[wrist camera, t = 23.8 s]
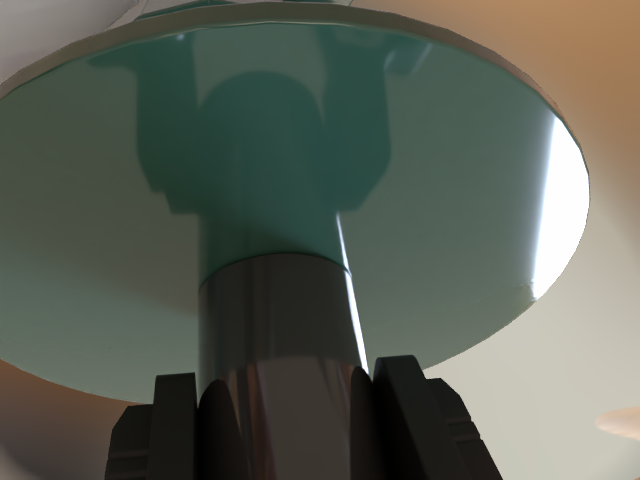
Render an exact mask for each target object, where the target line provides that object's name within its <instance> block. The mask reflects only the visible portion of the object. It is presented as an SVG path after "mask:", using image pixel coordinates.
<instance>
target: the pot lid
mask: <svg viewBox="0 0 640 480" xmlns="http://www.w3.org/2000/svg"><path fill="white" fill-rule="evenodd" d="M589 204H590V186H589V172H588V168H587V165H586V162H585V159H584V155H583V152H582V149H581V146H580V144H579V142H578V140H577V138H576V136H575V135H574V133H573V131H572V129H571V128H570V126H569V125H568V123H567V121H566V120H565V118H564V116H563V115H562V113H561V111H560V110H559V108H558V106H557V105H556V103H555V102H554V101H553V100H552V99H551V98H550V97H549V96H548V95H547V94H546V93H545V92H544V91H543V89H541V87H540V86H539V85H538V84H537V83H536V82H535V81H534V80H533V79H532V78H531V77H530V76H529V75H527V74H526V73H524V72H523V71H522V70H520V69H519V68H517V67H516V66H515V65H513V64H511V63H510V62H509V61H507V60H506V59H504V58H503V57H502V56H500V55H499V54H497V53H496V52H495V51H492V50H490V49H488V48H486V47H484V46H482V45H480V44H478V43H475V42H474V41H472V40H469V39H467V38H465V37H463V36H461V35H459V34H457V33H455V32H453V31H450V30H448V29H445V28H442V27H438V26H435V25H432V24H429V23H425V22H422V21H419V20H415V19H412V18H408V17H405V16H402V15H399V14H395V13H391V12H385V11H378V10H372V9H366V8H359V7H353V6H347V5H341V4H334V3H311V2H280V1H261V2H250V3H239V4H228V5H216V6H205V7H197V8H192V9H187V10H183V11H178V12H173V13H169V14H164V15H159V16H155V17H150V18H145V19H141V20H136V21H132V22H129V23H126V24H124V25H121V26H118V27H115V28H112V29H109V30H107V31H104V32H101V33H98V34H95V35H93V36H90V37H87V38H84V39H81V40H78V41H76V42H73V43H71V44H69V45H67V46H65V47H63V48H61V49H60V50H58V51H56V52H54V53H52V54H50V55H48V56H46V57H44V58H42V59H40V60H38V61H37V62H35V63H33V64H31V65H29V66H27V67H25V68H23V69H21V70H20V71H18V72H17V73H16V74H14V75H13V76H12V77H10V78H9V79H8V80H6V81H5V82H4V83H2V84H1V85H0V359H2V360H4V361H6V362H8V363H10V364H12V365H14V366H16V367H18V368H20V369H22V370H24V371H26V372H28V373H31V374H34V375H36V376H38V377H41V378H43V379H46V380H48V381H51V382H53V383H57V384H60V385H63V386H66V387H70V388H73V389H76V390H79V391H83V392H87V393H91V394H96V395H100V396H104V397H108V398H114V399H119V400H125V401H131V402H137V403H145V404H153V399H154V388H155V379H156V376H157V375H166V374H178V373H190V372H195V377H196V389H197V402H198V454H199V480H391V479H390V474H389V469H388V464H387V458H386V453H385V448H384V443H383V437H382V432H381V427H380V422H379V416H378V411H377V406H376V401H375V396H374V390H373V385H372V380H373V373H374V366H375V361H376V359H377V358H378V357H388V356H400V355H414V356H415V357H416V359H417V361H418V363H419V365H420V367H421V369H422V370H424V369H426V368H429V367H431V366H434V365H436V364H439V363H441V362H443V361H445V360H447V359H449V358H451V357H454V356H456V355H458V354H460V353H462V352H464V351H466V350H467V349H469V348H471V347H473V346H475V345H476V344H478V343H480V342H482V341H483V340H485V339H487V338H489V337H490V336H491V335H493V334H495V333H496V332H498V331H499V330H500V329H502V328H504V327H505V326H507V325H508V324H509V323H511V322H512V321H513V320H515V319H516V318H517V317H518V316H519V315H521V314H522V313H523V312H525V311H526V310H527V309H528V308H529V307H531V306H532V305H533V304H534V303H535V302H536V301H537V300H538V299H539V298H540V297H541V296H542V295H543V294H544V293H545V292H546V291H547V290H548V289H549V288H550V286H551V285H552V284H553V283H554V282H555V280H556V279H557V278H558V277H559V275H560V274H561V273H562V272H563V270H564V269H565V267H566V266H567V264H568V262H569V261H570V259H571V257H572V256H573V254H574V252H575V251H576V249H577V247H578V244H579V242H580V239H581V236H582V234H583V231H584V229H585V226H586V222H587V216H588V209H589Z"/></svg>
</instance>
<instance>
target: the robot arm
mask: <svg viewBox="0 0 640 480" xmlns="http://www.w3.org/2000/svg"><path fill="white" fill-rule="evenodd" d="M372 385H373V390H374V396H375V401H376V406H377V411H378V416H379V422H380V427H381V432H382V437H383V443H384V448H385V453H386V458H387V464H388V469H389V474H390V479H391V480H503V479H502V477H501V475H500V473H499V471H498V469H497V467H496V465H495V463H494V461H493V459H492V457H491V455H490V453H489V451H488V449H487V447H486V446H485V444H484V442H483V440H481V439H480V434H479V432H478V430H477V428H476V426H475V424H474V422H472V421H471V416H470V415H469V412H468V411H467V409H466V407H465V405H464V403H463V401H462V399H461V397H460V395H459V394H457V393H456V392H455V391H454V390H453V389H452V388H451V387H450V386H449V385H448V384H447V383H446V382H444V381H443V380H442V379H441V378H434V379H426V378H425V376H424V374H423V372H422V369H421V367H420V365H419V363H418V361H417V359H416V357H415V356H414V355H400V356H388V357H378V358H377V359H376V361H375V366H374V373H373V380H372ZM105 480H199V454H198V402H197V389H196V377H195V372H190V373H178V374H166V375H157V376H156V379H155V388H154V399H153V404H146V405H135V406H128V407H127V408H126V410H125V411H124V413H123V414H122V416H121V417H120V419H119V420H118V422H117V423H116V425H115V426H114V428H113V429H112V435H111V441H110V447H109V453H108V460H107V465H106V471H105Z"/></svg>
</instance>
